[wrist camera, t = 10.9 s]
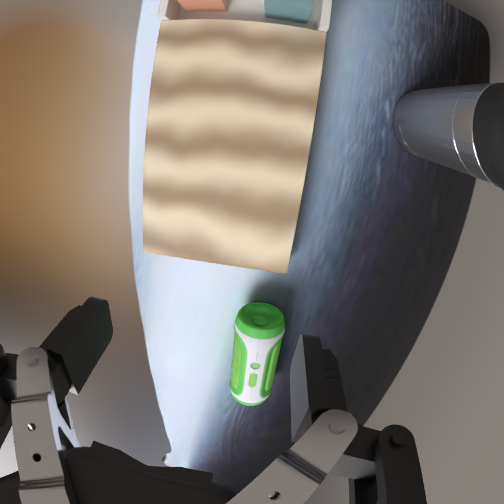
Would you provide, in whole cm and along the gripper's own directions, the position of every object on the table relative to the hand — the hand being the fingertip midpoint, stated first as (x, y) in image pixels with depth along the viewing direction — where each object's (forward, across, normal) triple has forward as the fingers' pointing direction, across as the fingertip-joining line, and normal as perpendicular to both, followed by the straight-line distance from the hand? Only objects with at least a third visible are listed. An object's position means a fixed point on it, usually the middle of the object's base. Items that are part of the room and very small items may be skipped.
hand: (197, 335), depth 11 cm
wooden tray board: (+28, +3, -5) cm, 29 cm away
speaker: (+28, -4, +25) cm, 38 cm away
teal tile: (+25, -2, -22) cm, 33 cm away
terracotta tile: (+25, +8, -22) cm, 35 cm away
